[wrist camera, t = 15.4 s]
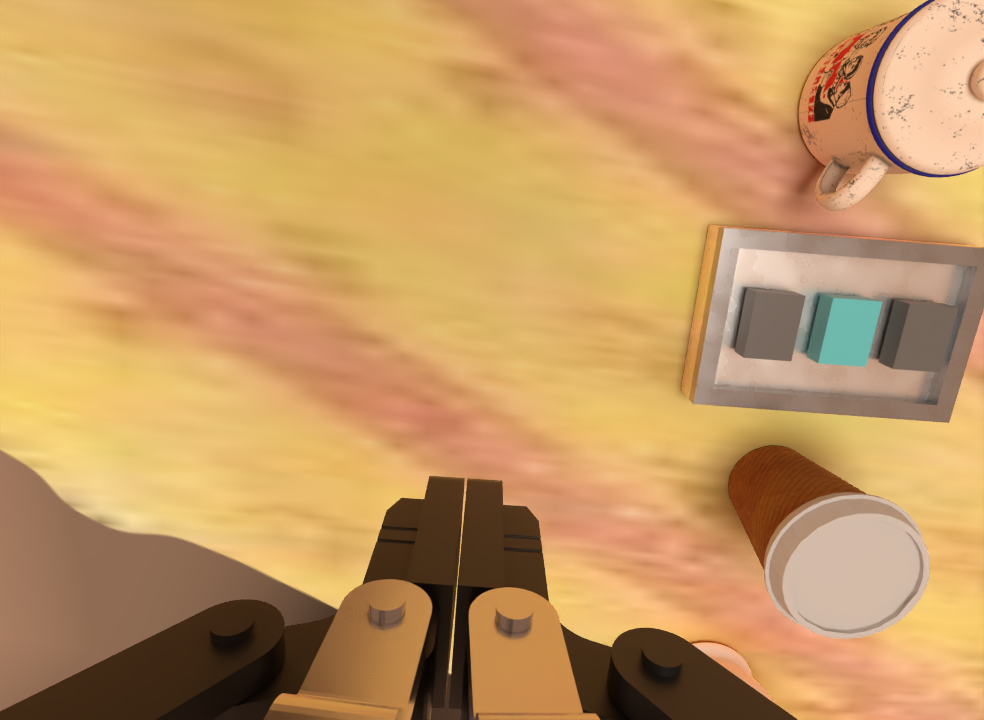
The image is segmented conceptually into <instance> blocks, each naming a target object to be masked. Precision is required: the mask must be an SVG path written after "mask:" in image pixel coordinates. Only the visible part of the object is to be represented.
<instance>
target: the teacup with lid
mask: <svg viewBox="0 0 984 720" xmlns="http://www.w3.org/2000/svg"><path fill="white" fill-rule="evenodd" d="M799 124H800V130H801V134H802V137H803V140H804V142H805V144H806V146H807V147H808V149H809V151H810V152H811V153H812V155H813V156H814V157H815V158H816V159H817V160H818V161H819V162H821V163H822V164H823V165H825V166H826V167H825V169H824V170H823V172H822V173H821V175H820V177H819V179H818V181H817V184H816V187H815V197H816V200H817V201H818V202H819V203H820V204H821V205H822V206H823V207H825V208H826V209H828V210H831V211H840V210H844V209H846V208H849V207H851V206H852V205H854V204H855V203H857V202H858V201H860V200H861V199H862V198H863V197H865V196H866V195H867V194H868V193H869V192H870V191H871V190H872V189H873V188H874V187H875V185H876V184H877V183H878V182H879V180H880V179H881V178H882V177H883V175H884V174H904V173H913V174H917V175H921V176H926V177H950V176H956V175H960V174H964V173H967V172H970V171H973V170H975V169H977V168H979V167H981V166H983V165H984V0H928V1H926V2H925V3H923V4H921V5H920V6H918V7H917V8H916V9H914V10H913V11H912V12H910V13H907V14H905V15H903V16H900V17H898V18H895V19H893V20H890V21H888V22H886V23H883V24H881V25H878V26H876V27H873V28H871V29H868V30H866V31H864V32H861V33H859V34H856V35H854V36H851V37H849V38H847V39H845V40H843V41H842V42H840V43H839V44H837V45H836V46H834V47H833V48H832V49H830V50H829V51H828V52H827V53H826V54H825V55H824V56H823V57H822V58H821V59H820V60H819V62H818V63H817V64H816V66H815V67H814V68H813V70H812V72H811V73H810V75H809V77H808V79H807V81H806V83H805V86H804V89H803V91H802V95H801V99H800V105H799ZM845 174H856V175H855V176H854V177H853V178H852V179H851V180H850V181H849V182H848V183H847V184H846V185H845V186H843V187H842V188H841V189H839V190H838V191H836V188H837V186H838V184H839V182H840V181H841V179H842V178H843V176H844V175H845ZM835 191H836V192H835Z"/></svg>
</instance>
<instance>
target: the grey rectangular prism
mask: <svg viewBox="0 0 984 720" xmlns="http://www.w3.org/2000/svg"><path fill="white" fill-rule="evenodd" d="M805 297H806V296H805V295H802V294H799V293H797V292H793V291H780V290H767V289H754V288H746V294H745V299H744V304H743V309H742V315H741V320H740V325H739V330H738V335H737V341H736V346H735V352H736V353H737V354H739V355H740V356H742V357H743V358H753V359H766V360H779V361H792V356H793V351H794V347H795V342H796V338H797V333H798V329H799V324H800V320H801V315H802V310H803V306H804V301H805Z"/></svg>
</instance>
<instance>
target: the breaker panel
mask: <svg viewBox="0 0 984 720" xmlns="http://www.w3.org/2000/svg"><path fill="white" fill-rule="evenodd" d="M746 288H754V289H767V290H780V291H793V292H797V293H799V294H802V295H805V296H806V297H805V301H804V306H803V310H802V315H801V320H800V324H799V329H798V333H797V338H796V342H795V347H794V351H793V356H792V361H779V360H766V359H753V358H743V357H742V356H740V355H739V354H737V353H736V352H735V346H736V341H737V335H738V330H739V325H740V320H741V315H742V309H743V304H744V299H745V294H746ZM821 294H832V295H845V296H858V297H869V298H872V299H875V300H879V301H882V306H881V310H880V314H879V317H878V321H877V325H876V329H875V333H874V337H873V341H872V345H871V349H870V353H869V357H868V361H867V364H866V367H859V366H846V365H833V364H819V363H817V362H815V361H813V360H811V359H809V358H808V357H807V352H808V348H809V343H810V339H811V335H812V330H813V326H814V321H815V317H816V312H817V308H818V304H819V299H820V295H821ZM895 299H897V300H910V301H923V302H936V303H944V304H948V305H951V306H955V307H959V309H958V313H957V316H956V320H955V323H954V326H953V330H952V333H951V337H950V340H949V344H948V347H947V351H946V354H945V357H944V361H943V364H942V368H941V371H940V373H939V372H926V371H913V370H899V369H892V368H889V367H887V366H885V365H883V364H881V363H879V362H878V361H879V357H880V353H881V350H882V346H883V342H884V338H885V334H886V330H887V327H888V323H889V319H890V315H891V311H892V307H893V304H894V300H895ZM983 308H984V247H979V246H971V245H962V244H949V243H936V242H923V241H911V240H898V239H885V238H872V237H860V236H847V235H834V234H821V233H809V232H796V231H783V230H770V229H757V228H745V227H732V226H719V225H709V226H708V232H707V238H706V244H705V250H704V256H703V262H702V268H701V273H700V279H699V285H698V291H697V297H696V303H695V309H694V315H693V320H692V326H691V332H690V338H689V344H688V350H687V356H686V362H685V368H684V373H683V379H682V385H681V391H682V392H683V393H684V394H685V395H686V396H687V397H688V399H689V400H690V401H691V402H692V403H693V404H702V405H716V406H729V407H743V408H757V409H770V410H784V411H797V412H811V413H824V414H838V415H852V416H865V417H879V418H892V419H906V420H920V421H933V422H947V423H949V421H950V418H951V414H952V411H953V408H954V404H955V401H956V398H957V394H958V391H959V388H960V384H961V381H962V378H963V375H964V371H965V368H966V365H967V361H968V358H969V355H970V351H971V348H972V345H973V341H974V338H975V335H976V332H977V328H978V325H979V322H980V318H981V315H982V312H983Z"/></svg>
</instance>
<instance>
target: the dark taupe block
mask: <svg viewBox="0 0 984 720" xmlns="http://www.w3.org/2000/svg"><path fill="white" fill-rule="evenodd" d="M958 309H959V307H955V306H951V305H948V304H944V303H936V302H923V301H910V300H897V299H895V300H894V304H893V307H892V311H891V315H890V319H889V323H888V327H887V330H886V334H885V338H884V342H883V346H882V350H881V353H880V357H879V361H878V362H879V363H881V364H883V365H885V366H887V367H889V368H892V369H899V370H913V371H926V372H939V373H940V371H941V368H942V364H943V361H944V357H945V354H946V351H947V347H948V344H949V340H950V337H951V333H952V330H953V326H954V323H955V320H956V316H957V313H958Z"/></svg>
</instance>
